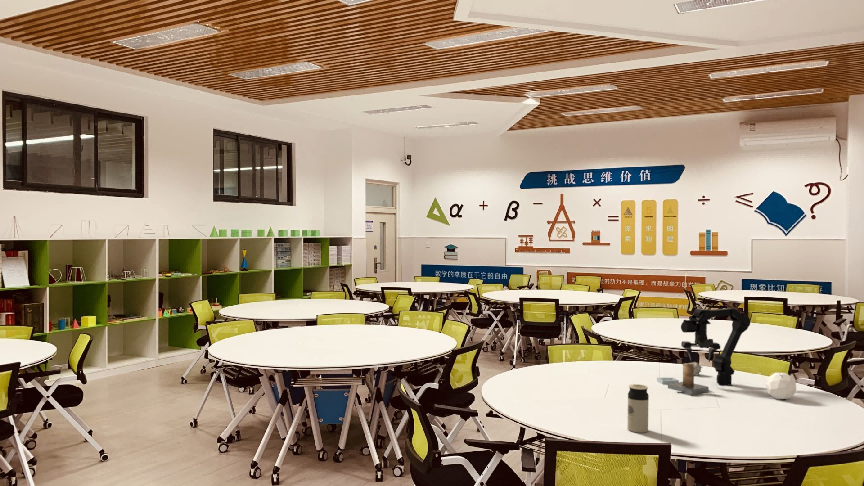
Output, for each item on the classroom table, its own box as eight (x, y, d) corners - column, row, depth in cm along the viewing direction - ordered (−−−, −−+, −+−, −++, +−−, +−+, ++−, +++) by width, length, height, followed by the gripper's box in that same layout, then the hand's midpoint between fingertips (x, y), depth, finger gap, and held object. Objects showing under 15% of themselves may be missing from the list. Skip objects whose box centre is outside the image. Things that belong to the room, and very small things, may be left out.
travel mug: (643, 427, 260) (644, 384, 259) (651, 433, 252) (651, 388, 252) (624, 427, 259) (625, 383, 259) (631, 433, 251) (632, 388, 251)
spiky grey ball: (697, 381, 363) (706, 370, 357) (684, 376, 363) (693, 364, 357) (695, 371, 370) (704, 360, 365) (682, 366, 370) (691, 354, 365)
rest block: (672, 383, 342) (673, 377, 342) (678, 386, 335) (678, 380, 335) (656, 383, 342) (656, 377, 342) (662, 386, 335) (662, 380, 335)
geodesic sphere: (804, 393, 299) (798, 367, 307) (772, 391, 301) (767, 365, 309) (795, 405, 310) (789, 379, 318) (765, 403, 313) (760, 378, 321)
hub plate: (684, 386, 333) (684, 381, 333) (708, 392, 321) (708, 386, 321) (667, 390, 326) (667, 384, 326) (691, 395, 314) (691, 389, 314)
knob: (686, 387, 327) (687, 362, 327) (695, 389, 323) (696, 364, 323) (680, 388, 325) (680, 363, 324) (689, 391, 320) (689, 365, 320)
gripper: (686, 333, 331) (686, 363, 331) (723, 335, 328) (723, 364, 328) (681, 330, 342) (680, 359, 342) (717, 332, 339) (716, 360, 339)
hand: (700, 361), depth 337 cm, fingers open, 9 cm apart
